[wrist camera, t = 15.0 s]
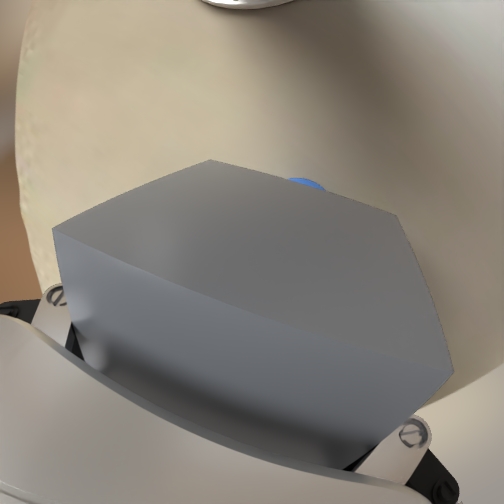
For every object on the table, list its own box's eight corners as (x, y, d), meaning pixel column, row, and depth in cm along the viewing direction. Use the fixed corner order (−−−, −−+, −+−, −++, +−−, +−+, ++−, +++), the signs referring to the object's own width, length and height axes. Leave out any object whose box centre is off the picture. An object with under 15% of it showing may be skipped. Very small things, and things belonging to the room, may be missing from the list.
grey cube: (210, 159, 11) (51, 227, 5) (396, 215, 10) (454, 371, 3) (192, 304, 15) (106, 413, 9) (331, 352, 14) (301, 493, 7)
